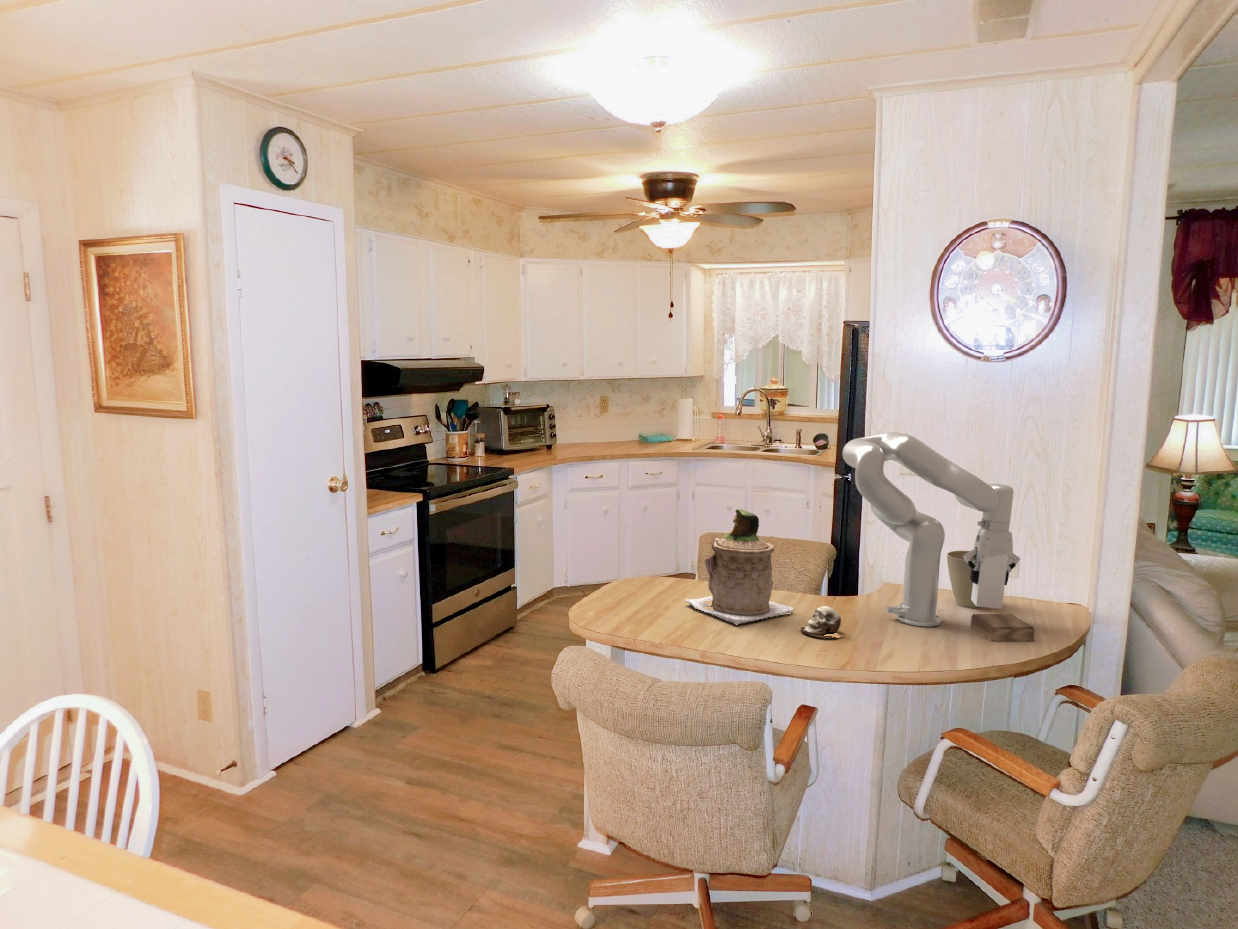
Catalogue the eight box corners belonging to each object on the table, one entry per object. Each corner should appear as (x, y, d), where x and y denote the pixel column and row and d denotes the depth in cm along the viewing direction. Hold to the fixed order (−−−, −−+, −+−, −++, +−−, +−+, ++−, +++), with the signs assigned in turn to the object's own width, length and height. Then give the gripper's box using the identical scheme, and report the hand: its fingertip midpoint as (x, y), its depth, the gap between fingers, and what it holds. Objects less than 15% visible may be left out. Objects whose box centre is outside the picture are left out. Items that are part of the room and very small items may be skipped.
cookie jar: (796, 614, 249) (801, 510, 245) (736, 628, 236) (740, 518, 231) (741, 594, 270) (744, 497, 265) (682, 606, 256) (684, 504, 252)
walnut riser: (991, 641, 228) (992, 627, 228) (970, 627, 240) (971, 613, 240) (1033, 641, 229) (1034, 627, 228) (1010, 627, 241) (1011, 613, 240)
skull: (814, 639, 224) (803, 604, 230) (801, 653, 233) (791, 620, 238) (854, 635, 227) (842, 601, 233) (840, 649, 235) (829, 616, 241)
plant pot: (969, 596, 272) (973, 548, 270) (1004, 609, 258) (1009, 559, 256) (933, 600, 267) (936, 551, 265) (967, 613, 253) (971, 562, 251)
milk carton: (1001, 609, 243) (1009, 546, 240) (976, 607, 244) (983, 544, 242) (995, 603, 250) (1003, 541, 247) (970, 600, 251) (978, 539, 248)
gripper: (972, 527, 239) (966, 585, 242) (1030, 530, 241) (1023, 588, 243) (960, 522, 247) (954, 579, 249) (1017, 524, 248) (1010, 581, 250)
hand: (988, 583), depth 246 cm, fingers closed on milk carton, 8 cm apart
